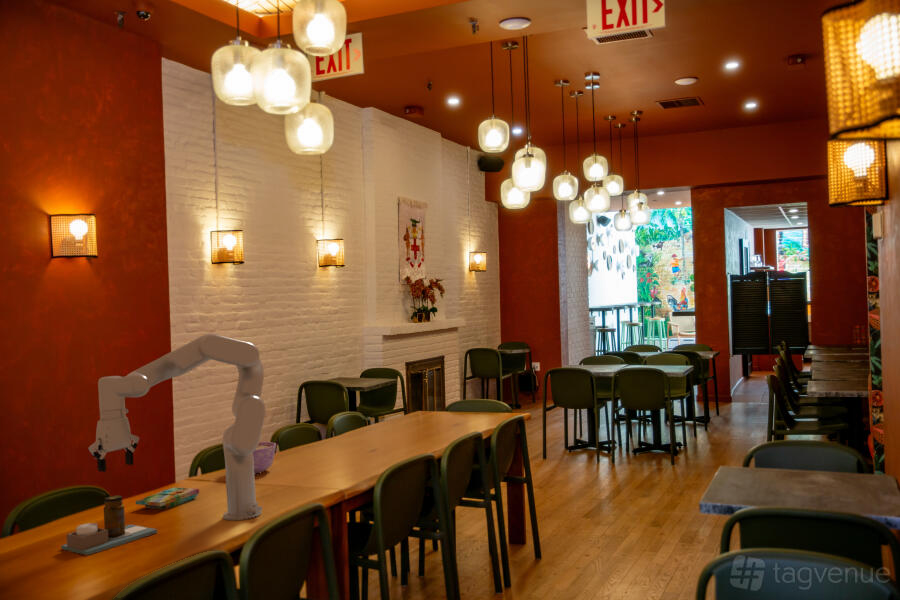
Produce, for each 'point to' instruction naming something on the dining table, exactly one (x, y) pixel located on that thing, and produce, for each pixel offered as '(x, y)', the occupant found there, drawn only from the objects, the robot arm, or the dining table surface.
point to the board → (103, 539)
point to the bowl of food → (263, 456)
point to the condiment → (114, 517)
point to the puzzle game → (169, 498)
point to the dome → (87, 529)
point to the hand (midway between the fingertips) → (116, 467)
